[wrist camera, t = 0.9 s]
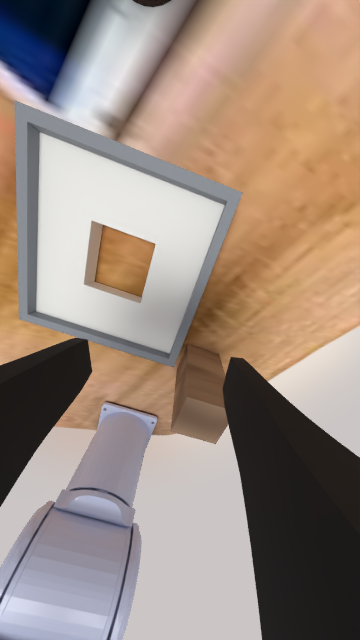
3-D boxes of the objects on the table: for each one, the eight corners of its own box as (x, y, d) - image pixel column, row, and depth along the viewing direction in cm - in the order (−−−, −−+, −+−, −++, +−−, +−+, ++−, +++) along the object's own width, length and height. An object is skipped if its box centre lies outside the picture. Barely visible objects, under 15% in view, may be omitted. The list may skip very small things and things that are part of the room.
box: (175, 352, 20) (173, 367, 18) (43, 309, 19) (19, 319, 16) (232, 204, 15) (242, 192, 12) (50, 132, 14) (14, 100, 11)
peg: (206, 379, 22) (215, 444, 14) (177, 370, 21) (170, 431, 14) (218, 354, 20) (236, 411, 13) (187, 344, 20) (186, 396, 12)
